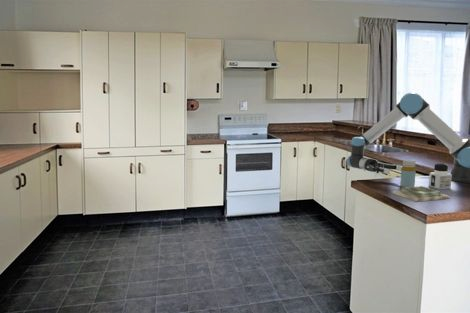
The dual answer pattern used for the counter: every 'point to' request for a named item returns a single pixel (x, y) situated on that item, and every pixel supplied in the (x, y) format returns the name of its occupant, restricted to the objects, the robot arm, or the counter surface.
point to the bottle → (408, 174)
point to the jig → (420, 193)
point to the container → (440, 177)
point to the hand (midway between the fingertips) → (398, 170)
